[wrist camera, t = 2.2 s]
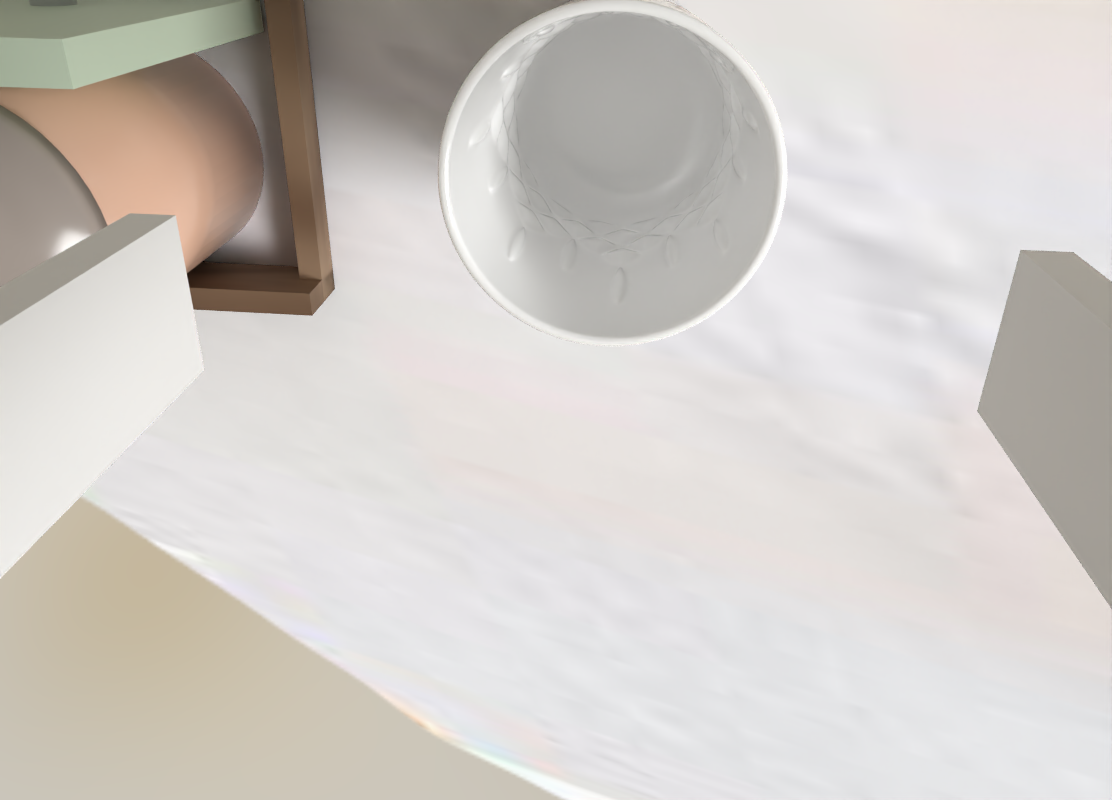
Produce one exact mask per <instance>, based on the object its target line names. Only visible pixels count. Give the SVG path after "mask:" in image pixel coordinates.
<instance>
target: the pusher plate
mask: <svg viewBox="0 0 1112 800" xmlns="http://www.w3.org/2000/svg"><path fill="white" fill-rule="evenodd" d="M261 32H264V29H263V22H262V14H261V6H260V0H0V87H20V88H50V89H76V88H79V87H83V86H86V85H89V84H93V83H96V82H99V81H102V80H106V79H109V78H112V77H116V76H119V75H122V74H126V73H129V72H132V71H136V70H139V69H142V68H145V67H149V66H152V65H155V64H159V63H162V62H165V61H169V60H172V59H175V58H179V57H182V56H185V55H188V54H192V53H195V52H198V51H202V50H205V49H208V48H212V47H215V46H218V45H222V44H225V43H228V42H231V41H235V40H238V39H241V38H245V37H248V36H251V35H255V34H258V33H261Z"/></svg>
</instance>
